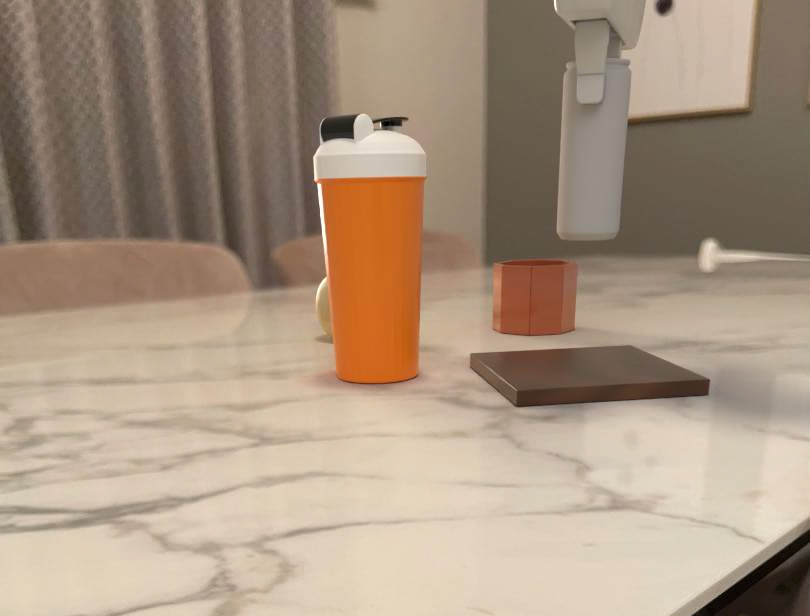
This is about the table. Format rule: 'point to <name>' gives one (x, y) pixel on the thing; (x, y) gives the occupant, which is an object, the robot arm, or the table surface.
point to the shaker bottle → (372, 244)
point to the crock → (534, 296)
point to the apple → (324, 307)
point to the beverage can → (593, 156)
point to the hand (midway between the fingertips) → (596, 107)
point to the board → (585, 375)
